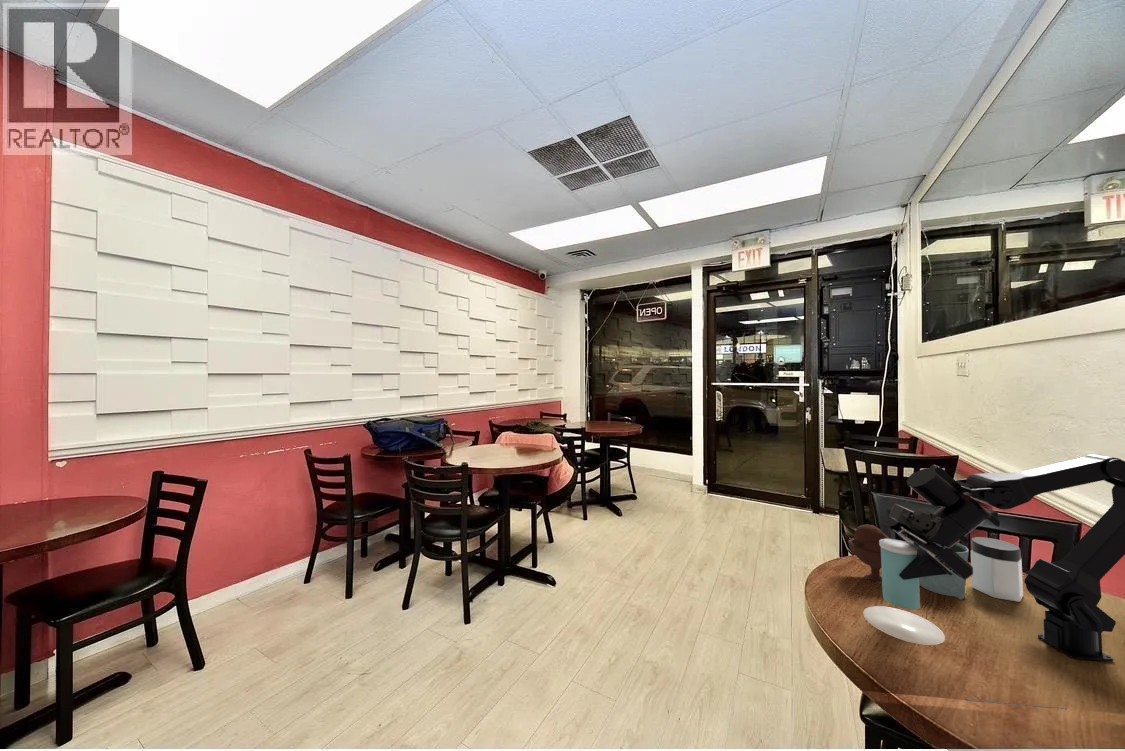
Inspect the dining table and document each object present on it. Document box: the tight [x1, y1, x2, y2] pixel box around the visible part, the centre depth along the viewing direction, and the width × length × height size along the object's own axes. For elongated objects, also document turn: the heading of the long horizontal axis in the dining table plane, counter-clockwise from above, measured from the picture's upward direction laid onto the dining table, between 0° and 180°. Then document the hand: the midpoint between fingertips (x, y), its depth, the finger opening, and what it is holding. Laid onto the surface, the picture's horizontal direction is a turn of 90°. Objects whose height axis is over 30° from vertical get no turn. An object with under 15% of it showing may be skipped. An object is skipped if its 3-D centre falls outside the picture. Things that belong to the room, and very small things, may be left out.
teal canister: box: [879, 538, 921, 610], centre depth 81 cm, size 6×6×12 cm
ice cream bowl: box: [847, 524, 890, 583], centre depth 100 cm, size 11×11×15 cm
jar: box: [970, 536, 1024, 603], centre depth 94 cm, size 9×8×12 cm
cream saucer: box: [862, 605, 946, 646], centre depth 81 cm, size 13×13×1 cm
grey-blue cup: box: [919, 542, 970, 601], centre depth 95 cm, size 10×10×12 cm
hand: (892, 570), depth 82 cm, fingers closed on teal canister, 6 cm apart
